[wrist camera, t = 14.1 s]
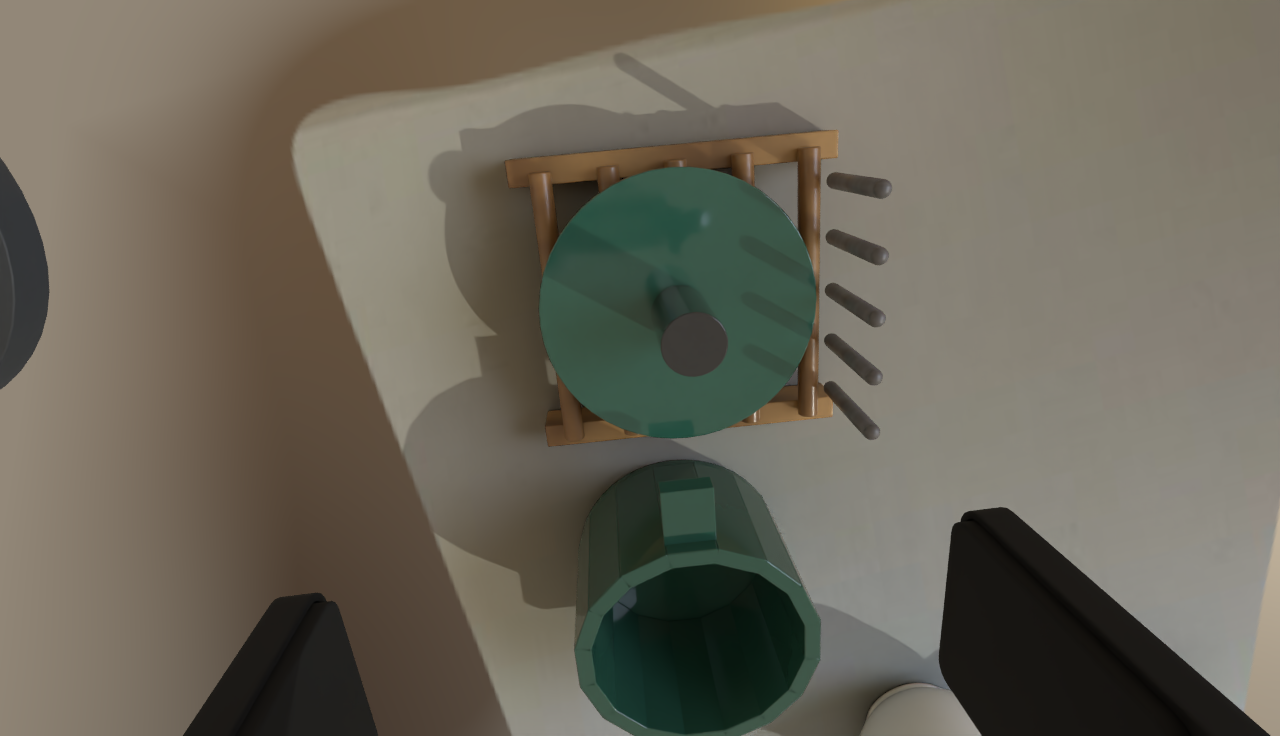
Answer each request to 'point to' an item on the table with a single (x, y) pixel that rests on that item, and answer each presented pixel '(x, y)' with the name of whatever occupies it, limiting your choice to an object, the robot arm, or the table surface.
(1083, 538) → the table surface
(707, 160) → the dish rack
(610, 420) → the lid
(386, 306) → the table surface
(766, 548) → the pot
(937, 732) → the trinket box
